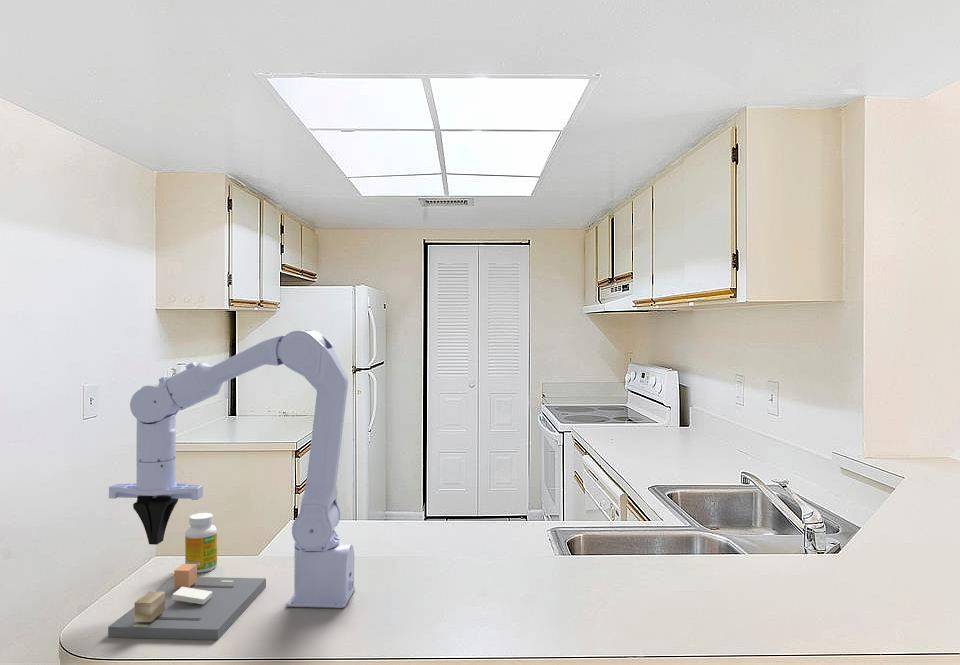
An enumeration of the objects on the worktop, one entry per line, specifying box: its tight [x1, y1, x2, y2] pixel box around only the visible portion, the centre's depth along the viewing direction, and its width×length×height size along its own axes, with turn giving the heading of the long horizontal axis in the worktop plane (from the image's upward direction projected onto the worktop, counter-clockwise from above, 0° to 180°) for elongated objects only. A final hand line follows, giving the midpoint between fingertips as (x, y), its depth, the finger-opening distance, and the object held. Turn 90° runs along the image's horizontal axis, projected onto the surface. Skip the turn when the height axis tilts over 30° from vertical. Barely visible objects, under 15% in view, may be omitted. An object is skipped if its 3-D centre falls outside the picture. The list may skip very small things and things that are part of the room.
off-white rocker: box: [172, 587, 212, 604], centre depth 104 cm, size 5×3×1 cm, turn 88°
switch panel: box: [107, 576, 267, 641], centre depth 105 cm, size 16×19×2 cm
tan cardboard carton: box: [134, 591, 165, 622], centre depth 98 cm, size 2×4×3 cm, turn 178°
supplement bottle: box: [184, 512, 218, 574], centre depth 122 cm, size 5×5×10 cm
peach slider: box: [173, 563, 198, 588], centre depth 110 cm, size 2×3×3 cm
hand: (156, 542), depth 108 cm, fingers closed
